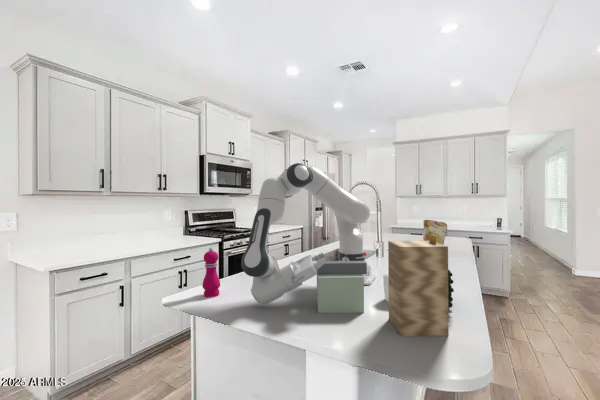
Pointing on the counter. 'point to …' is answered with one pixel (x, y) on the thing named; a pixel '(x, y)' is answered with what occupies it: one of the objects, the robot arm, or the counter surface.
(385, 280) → the white cup
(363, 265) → the bar
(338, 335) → the counter surface
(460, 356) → the counter surface
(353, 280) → the green platform
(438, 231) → the pancake mix bag
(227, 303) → the counter surface
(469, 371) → the counter surface
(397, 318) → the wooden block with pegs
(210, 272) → the pepper mill
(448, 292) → the toy figurine
